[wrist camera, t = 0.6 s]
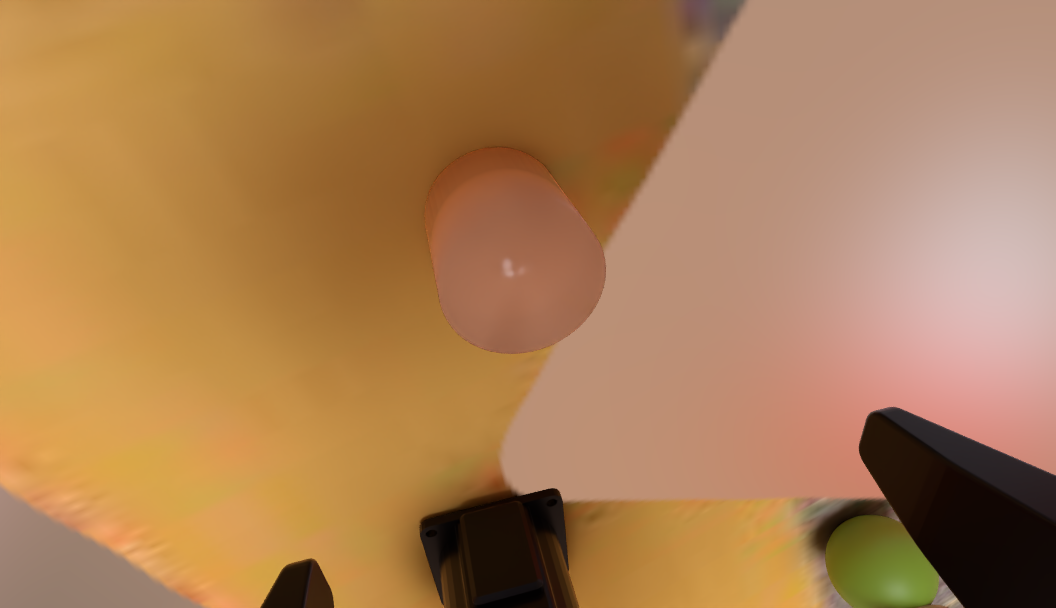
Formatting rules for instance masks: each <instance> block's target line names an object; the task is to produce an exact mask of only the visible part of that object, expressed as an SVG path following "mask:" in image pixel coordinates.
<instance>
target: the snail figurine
mask: <svg viewBox="0 0 1056 608" xmlns="http://www.w3.org/2000/svg"><path fill="white" fill-rule="evenodd" d="M825 561H826V568H827V572H828V575H829V578H830V580H831V582H832V584H833V586H834V587H835V589H836V590H837V592H838V593H839V594H840V596H841V597H842V598H843V599H844V600H845V601H846V602H847V603H848V604H849V605H851V606H852V607H853V608H948V607H945V606H941V605H931V603H932V602H933V600H934V598H935V596H936V593H937V590H938V584H939V575H938V573H937V572H936V570H935V569H934V568H933V567H932V565H931V564H930V563H929V561H928V560H927V559H926V557H925V556H924V555H923V553H922V552H921V551H920V549H919V548H918V547H917V545H916V544H915V542H914V541H913V539H912V538H911V536H910V535H909V534H908V532H907V531H906V529H905V527H904V526H903V524H902V523H900V522H898V521H896V520H894V519H891V518H888V517H884V516H879V515H862V516H857V517H854V518H851V519H849V520H847V521H845V522H843V523H842V524H841V525H839V526H838V527H837V528H836V529H835V530H834V532H833V533H832V535H831V536H830V538H829V540H828V543H827V547H826V553H825Z"/></svg>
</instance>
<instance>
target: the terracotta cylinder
mask: <svg viewBox="0 0 1056 608" xmlns="http://www.w3.org/2000/svg"><path fill="white" fill-rule="evenodd" d="M424 220H425V227H426V233H427V238H428V243H429V248H430V253H431V259H432V264H433V269H434V274H435V279H436V285H437V290H438V295H439V300H440V304H441V308H442V311H443V313H444V315H445V317H446V320H447V321H448V323H449V324H450V325H451V327H452V328H453V329H454V330H455V331H456V332H457V334H458V335H460V336H461V337H462V338H463V339H465V340H466V341H468V342H469V343H471V344H473V345H475V346H477V347H479V348H482V349H485V350H488V351H492V352H497V353H508V354H515V353H526V352H532V351H536V350H539V349H543V348H545V347H548V346H550V345H553V344H555V343H557V342H559V341H561V340H562V339H564V338H565V337H567V336H568V335H570V334H571V333H572V332H574V331H575V330H576V329H577V328H578V327H579V326H580V325H581V324H582V323H583V322H584V321H585V320H586V319H587V318H588V317H589V315H590V314H591V313H592V311H593V309H594V308H595V307H596V305H597V303H598V301H599V298H600V296H601V294H602V290H603V288H604V283H605V275H606V265H605V257H604V253H603V250H602V247H601V245H600V243H599V241H598V239H597V238H596V236H595V234H594V233H593V232H592V230H591V229H590V227H589V226H588V225H587V223H586V222H585V220H584V219H583V218H582V216H581V215H580V214H579V212H578V211H577V209H576V208H575V207H574V205H573V204H572V202H571V201H570V200H569V198H568V197H567V196H566V194H565V193H564V191H563V190H562V189H561V187H560V186H559V184H558V183H557V182H556V180H555V179H554V178H553V176H552V175H551V173H550V172H549V171H548V170H547V169H546V167H545V166H544V165H543V164H541V163H540V162H539V161H538V160H537V159H535V158H534V157H532V156H530V155H528V154H526V153H524V152H522V151H519V150H515V149H511V148H505V147H491V148H484V149H479V150H475V151H473V152H470V153H467V154H465V155H463V156H462V157H460V158H458V159H456V160H455V161H454V162H452V163H451V164H450V165H448V166H447V167H446V168H445V169H444V170H443V171H442V172H441V174H440V175H439V176H438V177H437V179H436V180H435V182H434V183H433V185H432V187H431V189H430V191H429V193H428V197H427V200H426V204H425V212H424Z"/></svg>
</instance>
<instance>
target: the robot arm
mask: <svg viewBox="0 0 1056 608" xmlns="http://www.w3.org/2000/svg"><path fill="white" fill-rule="evenodd" d="M859 453H860V456H861V459H862V461H863V462H864V464H865V466H866V467H867V469H868V470H869V472H870V474H871V475H872V477H873V478H874V480H875V481H876V483H877V485H878V486H879V488H880V489H881V491H882V493H883V494H884V496H885V497H886V499H887V501H888V502H889V504H890V505H891V507H892V508H893V510H894V512H895V513H896V515H897V516H898V518H899V520H900V521H901V523H902V524H903V526H904V527H905V529H906V531H907V532H908V534H909V535H910V536H911V538H912V539H913V541H914V542H915V544H916V545H917V547H918V548H919V549H920V551H921V552H922V553H923V555H924V556H925V557H926V559H927V560H928V561H929V563H930V564H931V565H932V567H933V568H934V569H935V570H936V572H937V573H938V574H939V576H940V577H941V578H942V580H943V581H944V582H945V583H946V585H947V586H948V587H949V589H950V590H951V591H952V592H953V594H954V595H955V596H956V598H957V599H958V600H959V602H960V603H961V604H962V605H963V607H964V608H1056V475H1053V474H1051V473H1049V472H1046V471H1044V470H1042V469H1039V468H1037V467H1035V466H1032V465H1030V464H1028V463H1026V462H1023V461H1021V460H1019V459H1016V458H1014V457H1011V456H1009V455H1007V454H1005V453H1002V452H1000V451H998V450H995V449H993V448H991V447H988V446H986V445H984V444H981V443H979V442H977V441H974V440H972V439H970V438H967V437H965V436H963V435H960V434H958V433H956V432H954V431H951V430H949V429H946V428H944V427H942V426H940V425H937V424H935V423H933V422H930V421H928V420H926V419H923V418H921V417H919V416H916V415H914V414H912V413H909V412H907V411H904V410H902V409H900V408H896V407H888V408H884V409H880V410H876V411H873V412H871V413H870V414H869V415H868V416H867V419H866V422H865V426H864V429H863V433H862V436H861V440H860V443H859ZM420 537H421V540H422V543H423V547H424V550H425V553H426V556H427V559H428V562H429V565H430V568H431V571H432V574H433V577H434V581H435V584H436V587H437V590H438V593H439V596H440V599H441V602H442V604H443V605H444V608H579V605H578V601H577V598H576V595H575V592H574V588H573V585H572V582H571V579H570V576H569V572H568V570H569V566H568V555H567V545H566V534H565V523H564V512H563V501H562V498H561V494H560V492H559V491H558V490H557V489H554V488H551V489H546V490H542V491H538V492H534V493H530V494H526V495H522V496H518V497H514V498H510V499H506V500H502V501H498V502H494V503H490V504H486V505H482V506H478V507H474V508H470V509H466V510H462V511H458V512H454V513H450V514H446V515H442V516H438V517H434V518H431V519H427V520H425V521H423V522H422V523H421V524H420ZM260 608H334V601H333V595H332V592H331V589H330V587H329V585H328V583H327V581H326V579H325V577H324V575H323V573H322V571H321V569H320V567H319V565H318V563H317V561H316V560H314V559H312V558H311V559H306V560H302V561H298V562H294V563H291V564H288V565H286V566H285V567H284V568H283V569H282V571H281V572H280V574H279V576H278V578H277V579H276V581H275V583H274V585H273V586H272V588H271V590H270V592H269V593H268V595H267V597H266V599H265V600H264V602H263V604H262V606H261V607H260Z"/></svg>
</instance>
